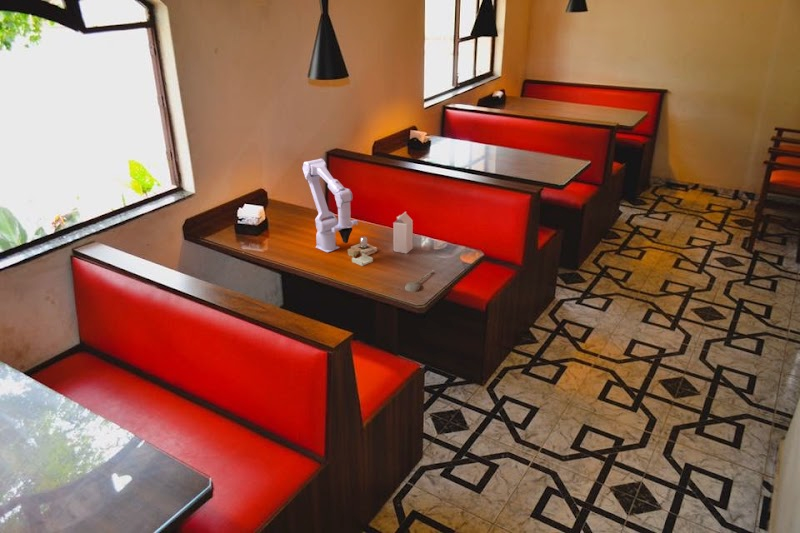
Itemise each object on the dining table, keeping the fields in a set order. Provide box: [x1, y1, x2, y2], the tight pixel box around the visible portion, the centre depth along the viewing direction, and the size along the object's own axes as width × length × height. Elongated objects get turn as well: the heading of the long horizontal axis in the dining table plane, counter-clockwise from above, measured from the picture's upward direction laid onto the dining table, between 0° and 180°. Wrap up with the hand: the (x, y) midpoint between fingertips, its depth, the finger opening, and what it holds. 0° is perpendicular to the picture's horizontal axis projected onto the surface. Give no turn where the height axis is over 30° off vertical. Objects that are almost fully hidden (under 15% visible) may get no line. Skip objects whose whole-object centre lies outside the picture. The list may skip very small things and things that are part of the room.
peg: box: [359, 236, 368, 250], centre depth 306 cm, size 3×3×7 cm
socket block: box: [350, 242, 378, 256], centre depth 307 cm, size 10×8×2 cm
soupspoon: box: [404, 269, 436, 293], centre depth 277 cm, size 22×3×7 cm
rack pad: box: [351, 254, 374, 267], centre depth 296 cm, size 7×7×2 cm
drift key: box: [347, 247, 362, 258], centre depth 303 cm, size 4×6×3 cm, turn 136°
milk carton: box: [392, 211, 414, 254], centre depth 304 cm, size 7×7×19 cm
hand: (345, 242), depth 297 cm, fingers closed
